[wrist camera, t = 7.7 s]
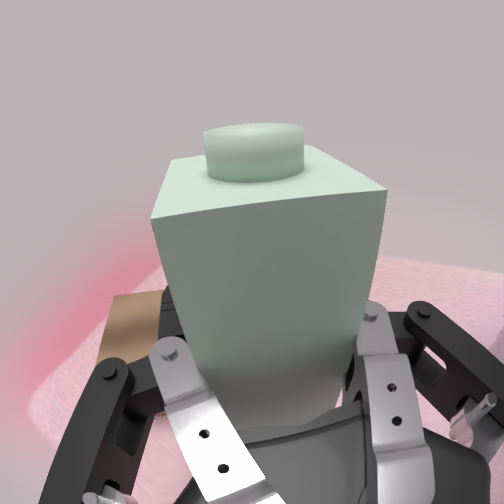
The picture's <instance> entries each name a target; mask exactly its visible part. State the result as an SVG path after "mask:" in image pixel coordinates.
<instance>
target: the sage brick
mask: <svg viewBox="0 0 504 504" xmlns="http://www.w3.org/2000/svg"><path fill="white" fill-rule="evenodd" d="M303 134H304V132H303V127H302V126H300V125H295V124H287V123H250V124H239V125H232V126H225V127H221V128H216V129H213V130H209V131H207V132H204V133H203V139H204V148H205V155H202V156H195V157H188V158H182V159H176V160H172V161H171V164H170V166H169V169H168V172H167V174H166V177H165V179H164V182H163V185H162V188H161V190H160V193H159V196H158V198H157V201H156V204H155V207H154V210H153V213H152V215H151V219H150V220H151V224H152V228H153V232H154V236H155V240H156V244H157V247H158V251H159V255H160V258H161V262H162V265H163V269H164V272H165V276H166V279H167V283H168V286H169V289H170V293H171V296H172V299H173V302H174V305H175V308H176V311H177V315H178V318H179V321H180V324H181V327H182V329H183V332H184V335H185V338H186V341H187V344H188V347H189V349H190V352H191V355H192V357H193V360H194V363H195V366H196V367H199V369H200V371H201V373H202V375H203V377H204V379H205V381H206V383H207V384H208V386H209V388H211V390H212V391H213V393H214V395H215V396H216V398H217V400H218V402H219V404H220V405H221V407H222V409H223V411H224V412H225V414H226V416H227V418H228V419H229V421H230V423H231V425H232V426H233V428H234V430H235V431H237V430H243V429H249V428H255V427H261V426H266V425H273V426H297V425H304V424H306V423H308V422H310V421H311V420H313V419H315V418H317V417H319V416H321V415H322V414H324V413H326V412H328V411H329V410H331V409H334V407H335V405H336V402H337V399H338V397H339V394H340V391H341V388H342V377H343V374H344V372H347V371H348V368H349V365H350V362H351V359H352V355H353V341H354V338H355V335H356V334H359V332H360V328H361V324H362V321H363V317H364V313H365V309H366V305H367V301H368V297H369V293H370V288H371V284H372V279H373V275H374V270H375V265H376V260H377V255H378V250H379V244H380V238H381V232H382V226H383V220H384V212H385V205H386V198H387V189H385V188H383V187H382V186H380V185H379V184H377V183H376V182H374V181H373V180H371V179H369V178H367V177H366V176H364V175H363V174H361V173H359V172H358V171H356V170H354V169H352V168H351V167H349V166H347V165H345V164H344V163H342V162H340V161H338V160H337V159H335V158H333V157H331V156H329V155H327V154H326V153H324V152H322V151H320V150H318V149H316V148H314V147H312V146H310V145H304V135H303Z"/></svg>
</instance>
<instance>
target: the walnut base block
mask: <svg viewBox="0 0 504 504" xmlns="http://www.w3.org/2000/svg"><path fill="white" fill-rule="evenodd" d="M163 292H164V290H157V291H149V292H141V293H133V294H125V295H116V296H114V298H113V302H112V305H111V309H110V312H109V315H108V319H107V322H106V326H105V329H104V333H103V337H102V341H101V345H100V349H99V353H98V357H97V361H96V365H97V364H98V363H99V362H101V361H102V360H104V359H106V358H110V357H117V358H121V359H122V360H124V361H125V362H126V364H128V363H131V362H134V361H136V360H139V359H141V358H144V357H145V356H147V355H148V354H149V350H150V348H151V347H152V345H153V344H154V343H155V342H157V339H158V327H159V316H160V306H161V297H162V293H163ZM96 365H95V367H96ZM155 415H166V412H165V411H162V412H159V413H157V414H155Z"/></svg>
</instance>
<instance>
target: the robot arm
mask: <svg viewBox="0 0 504 504" xmlns="http://www.w3.org/2000/svg"><path fill="white" fill-rule="evenodd" d="M426 346H427V347H428V348H429V349H430V350H432V351H433V352H434V353H435V354H436V355H437V356H438V357H439V358H441V359H442V360H443V361H444V363H445V364H446V369H444V368H443V367H442V366H441V365H440V364H439V363H438V362H437V361H436V360H434V359H433V358H432V357H431V356H430V355H429V354H428V353H427V352H426V351H424V349H425V347H426ZM415 388H416V389H417V390H418V391H419V392H420V393H421V394H422V395H423V396H424V397H425V398H426V399H427V400H428V401H429V402H430V403H431V404H432V405H433V406H434V407H435V408H436V409H437V410H438V411H439V412H440V413H441V414H442V415H443V416H444V417H445V418H446V419H447V420H448V421H449V422H450V429H451V430H450V431H449V436H450V438H451V439H452V440H457V442H455V441H452V440H450V439H448V438H446V437H443V436H441V435H439V434H437V433H435V432H432V431H430V430H428V429H426V428H424V427H422V421H421V415H420V410H419V404H418V399H417V394H416V389H415ZM342 390H343V400H342V406H341V407H338V408H334V409H331V410H329V411H328V412H326V413H324V414H322V415H321V416H319V417H317V418H315V419H313V420H311V421H310V422H308V423H306V424H304V425H297V426H273V425H266V426H261V427H255V428H249V429H243V430H237V431H235V430H234V428H233V426H232V425H231V423H230V421H229V419H228V418H227V416H226V414H225V412H224V411H223V409H222V407H221V405H220V404H219V402H218V400H217V398H216V396H215V395H214V393H213V391H212V390H211V388H209V386H208V384H207V383H206V381H205V379H204V377H203V375H202V373H201V371H200V369H199V367H196V366H195V363H194V360H193V357H192V355H191V352H190V349H189V347H188V344H187V341H186V338H185V335H184V332H183V329H182V327H181V324H180V321H179V318H178V315H177V311H176V308H175V305H174V302H173V299H172V296H171V293H170V289H169V286H168V285H167V287H166V288H165V290H164V292H163V293H162V297H161V306H160V316H159V327H158V339H157V342H155V343H154V344H153V345H152V347H151V348H150V350H149V354H148V355H147V356H145V357H144V358H141V359H139V360H136V361H134V362H131V363H128V364H126V362H125V361H124V360H122V359H121V358H117V357H110V358H106V359H104V360H102V361H101V362H99V363H98V364H97V365H96V367H95V368H94V370H93V372H92V374H91V376H90V378H89V380H88V382H87V384H86V386H85V388H84V390H83V393H82V395H81V397H80V399H79V401H78V403H77V405H76V408H75V410H74V412H73V414H72V416H71V419H70V421H69V423H68V426H67V428H66V430H65V433H64V435H63V437H62V440H61V442H60V445H59V447H58V450H57V452H56V455H55V457H54V460H53V463H52V465H51V468H50V471H49V474H48V476H47V479H46V482H45V485H44V488H43V491H42V494H41V497H40V500H39V503H38V504H138V502H137V501H136V500H135V499H134V498H133V497H132V496H131V494H132V490H133V487H134V483H135V480H136V476H137V473H138V469H139V466H140V462H141V459H142V455H143V452H144V449H145V445H146V442H147V439H148V436H149V432H150V429H151V426H152V423H153V420H154V416H155V414H157V413H159V412H162V411H165V412H166V415H167V417H168V420H169V422H170V425H171V427H172V430H173V432H174V435H175V437H176V439H177V441H178V444H179V446H180V448H181V450H182V453H183V455H184V457H185V459H186V461H187V463H188V465H189V468H190V470H191V472H192V474H193V477H192V478H191V480H190V481H189V483H188V484H187V486H186V487H185V488H184V490H183V491H182V493H181V494H180V495H179V497H178V498H177V499H176V501H175V502H174V504H490V482H491V473H490V468H489V465H488V464H489V462H490V461H491V459H492V458H493V457H494V455H495V454H496V452H497V451H498V449H499V448H500V446H501V445H502V443H503V442H504V327H503V329H502V330H501V332H500V334H499V335H498V337H497V339H496V340H495V342H494V343H493V345H492V347H491V348H490V350H489V351H488V350H487V349H486V348H485V347H484V346H482V345H481V344H480V343H479V342H478V341H477V340H475V339H474V338H473V337H472V336H471V335H469V334H468V333H467V332H466V331H464V330H463V329H462V328H461V327H460V326H458V325H457V324H456V323H455V322H453V321H452V320H451V319H450V318H448V317H447V316H446V315H445V314H443V313H442V312H441V311H440V310H438V309H437V308H436V307H434V306H433V305H432V304H430V303H428V302H425V301H415V302H412V303H411V304H410V305H409V306H408V309H407V311H406V312H388V311H387V310H386V308H385V307H384V306H382V305H381V304H379V303H377V302H374V301H369V300H368V301H367V305H366V309H365V313H364V317H363V321H362V324H361V328H360V332H359V334H356V335H355V338H354V341H353V355H352V359H351V362H350V365H349V368H348V371H347V372H344V374H343V377H342Z"/></svg>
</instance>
